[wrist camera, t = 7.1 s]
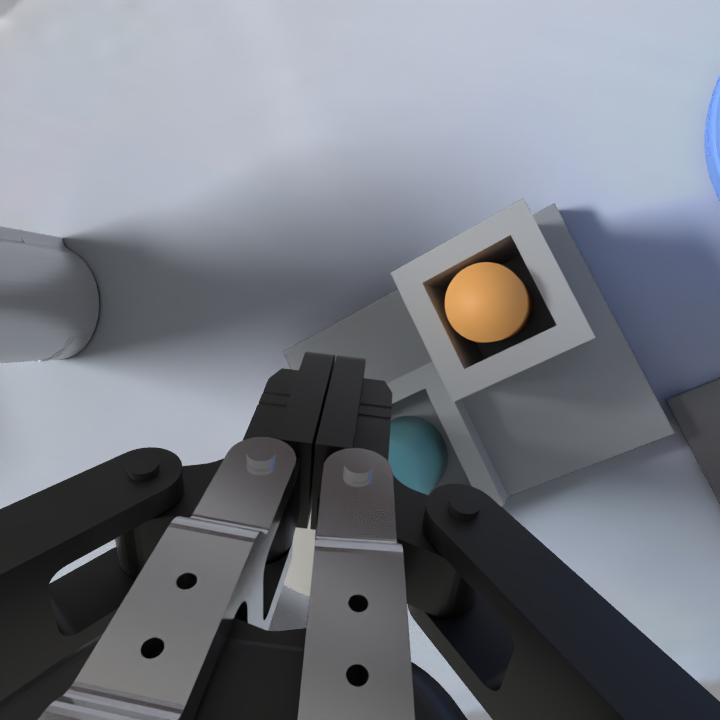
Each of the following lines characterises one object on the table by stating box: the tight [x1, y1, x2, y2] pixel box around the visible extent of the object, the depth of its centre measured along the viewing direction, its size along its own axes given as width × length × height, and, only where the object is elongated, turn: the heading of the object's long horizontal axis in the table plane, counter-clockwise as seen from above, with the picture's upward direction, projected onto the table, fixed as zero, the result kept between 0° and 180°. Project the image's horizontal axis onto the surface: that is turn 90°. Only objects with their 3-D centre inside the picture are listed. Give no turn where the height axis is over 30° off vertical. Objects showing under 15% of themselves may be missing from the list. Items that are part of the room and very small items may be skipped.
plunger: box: [445, 262, 533, 342], centre depth 28 cm, size 4×4×5 cm
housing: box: [283, 198, 674, 506], centre depth 32 cm, size 14×19×9 cm
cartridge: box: [284, 416, 448, 596], centre depth 29 cm, size 5×5×14 cm
